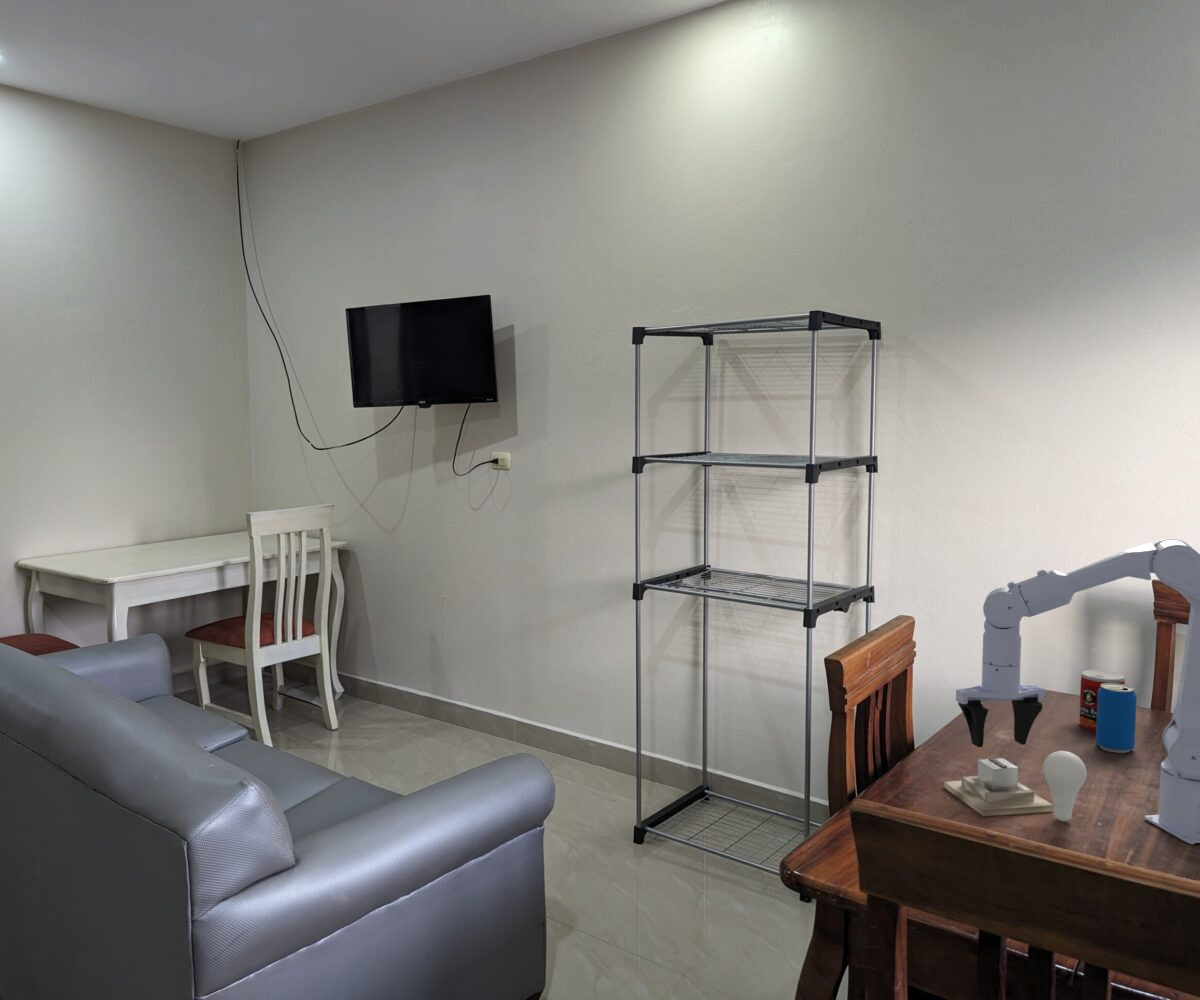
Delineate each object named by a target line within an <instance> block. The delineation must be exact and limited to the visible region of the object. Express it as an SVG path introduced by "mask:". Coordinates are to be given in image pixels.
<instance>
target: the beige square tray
mask: <svg viewBox="0 0 1200 1000" xmlns="http://www.w3.org/2000/svg"><path fill="white" fill-rule="evenodd" d="M943 783H944V784H943V785H944V786H943V787H944V788H945V789H946V790H947V791H949V792H950V793H951V794H953V796H955V797H957V798H958V799H959V800H961V802H964V803H965V804H966V805H967V806H969V807H970V808H972V809H973V810H974V811H975V812H977V813H978V814H980V815H981V816H983V817H988V816H1004V815H1019V814H1033V813H1034V814H1035V813H1047V812H1048V813H1049V812H1054V804H1053V803H1050V802H1049V801H1047V800H1046V799H1044V798H1043V797H1041V796H1040V795H1038V794H1037V793H1035V791H1034V790H1032V789H1030V788H1029V787H1027V786H1026V785H1024V784H1022V783H1021V782H1019V781H1018V787H1017V791H1003V792H990V791H988V790H987V789H985V788H984V787H982V786H981V785H979V784H978V775H972V776H971V775H968V776H961V780H952V781H951V780H950V781H944V782H943Z"/></svg>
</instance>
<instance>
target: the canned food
mask: <svg viewBox="0 0 1200 1000" xmlns="http://www.w3.org/2000/svg"><path fill="white" fill-rule="evenodd" d="M1125 677H1126V676H1124V674H1121V673H1118V672H1115V671H1110V670H1102V669H1088V670H1087V669H1086V670H1083V671H1082V672H1081V674H1080V694H1079V695H1080V696H1079V717H1078V718H1079V725H1080V727H1082V728H1083V727H1084V728H1083V729H1085V728H1087V729H1086V730H1088V729H1089V731H1091V730H1093V731H1092V732H1096V725H1097V701H1098V690H1099V689H1100V688H1101V684H1103V683H1118V684H1124V685H1126V684H1125V683H1126V679H1125Z"/></svg>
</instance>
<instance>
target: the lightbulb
mask: <svg viewBox="0 0 1200 1000" xmlns="http://www.w3.org/2000/svg"><path fill="white" fill-rule="evenodd" d="M1042 773H1043V776H1044V779H1045V781H1046V783H1047V784H1048V786H1049V790H1050V792H1051V802H1052V805H1053V816H1054V817H1055V818H1057V820H1059V821H1060V822H1067V821H1069V820H1071V819H1073V818H1072V817H1073V807H1074V806H1075V804H1076V802H1075V801H1076V797H1077V794H1078V792H1079V791H1080V790H1081V788H1082V787H1083V785H1084V784H1085V782H1086V779H1087V768H1086V764H1085V763H1084V762H1083V761H1082V759H1081V758H1080V757H1079V756H1078V755H1076V754H1075V753H1073V752H1070V751H1067V750H1057V751H1054V752H1052V753H1050V754H1049V755H1048V756H1047V757H1046V758H1045V759H1044V761H1043V764H1042Z"/></svg>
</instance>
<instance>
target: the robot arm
mask: <svg viewBox="0 0 1200 1000" xmlns="http://www.w3.org/2000/svg"><path fill="white" fill-rule="evenodd" d="M1151 574H1155V577H1156V578H1157V579H1158V580H1159V582H1162V583H1163V584H1164V585H1166V586H1168V587H1170V588H1171V589H1173V590H1175V591H1177V592H1179V593H1180V595H1181V596H1182V597H1183V598H1184V599H1185V600H1186V601H1187V602H1188V603H1189V604H1190V608H1189V609H1190V610H1189V617H1188V623H1187V631H1186V637H1185V644H1184V652H1183V660H1182V665H1181V672H1180V680H1179V686H1178V691H1177V692H1178V694H1177V700H1176V704H1175V707H1174V709H1173V710H1172V711H1173V712H1172V717H1171V721H1170V722H1169V724H1168V725H1166V727H1165V728H1164V729H1163V733H1162V735H1161V736H1162V737H1161V738H1162V744H1163V746H1164V749H1165V750H1166V753H1167V756H1166V758H1165V759H1164V760H1163V761H1161V763H1160V776H1159V777H1160V778H1159V779H1160V781H1159V782H1160V783H1159V802H1158V814H1151V815H1147V814H1146V815H1144V819H1145V820H1146V821H1147V822H1150V823H1151V824H1153V825H1154V826H1157V827H1158V828H1161V829H1162V830H1164V831H1166V832H1167V833H1169V834H1171V835H1172V836H1174V837H1175V838H1178V839H1180V840H1182V841H1183V842H1185V843H1186V842H1187V844H1188V843H1189V845H1196V844H1195V843H1200V553H1199V552H1198V551H1197V550H1195V549H1194V548H1193V547H1192V546H1191V545H1189V544H1188V543H1187V542H1185V541H1183V540H1181V539H1178V538H1174V537H1173V538H1165V539H1161V540H1158V541H1157V542H1155V543H1154V544H1153V543H1152V542H1149V543H1144V544H1141V545H1139V546H1135V547H1131V548H1129V549H1126V550H1123V551H1120V552H1117V553H1115V554H1113V555H1111V556H1109V557H1105V558H1103V559H1100V560H1098V561H1095V562H1093V563H1090V564H1088V565H1085V566H1083V567H1080V568H1077V569H1075V570H1073V571H1070V572H1067V573H1064V572H1060V571H1058V570H1054V569H1052V570H1049V571H1046V569H1044V568H1043V569H1040V570H1038V571H1037V572H1036V576H1033V577H1030V578H1028V579H1025V580H1024V579H1023V580H1021V581H1019V582H1016V583H1015V582H1014V581H1010V582H1008V583H1007V588H1006V587H998V588H995V589H993V590H991V591H990V592H989V593H988V595H986V598H985V600H984V603H983V607H982V608H983V609H982V610H983V611H982V612H983V615H984V617H985V621H984V623H983V629H984V632H983V634H982V637H983V638H982V658H981V659H982V662H981V663H982V666H981V669H982V670H981V684H980V685H976V686H970V687H966V688H956V689H955V701H956V702H957V703H958V707H960V710H961V712H962V714H963V716H964V718H965V721H966V723H967V727H968V731H969V734H970V739H971V744H972V745H974V746H975V747H976V748H983V745H984V741H985V740H984V736H985V724H986V720H987V719H986V718H987V716H988V713H989V709H988V708H986V707H984V706H983V704H984V702H1004V701H1006V702H1007V701H1011V704H1012V711H1013V720H1014V721H1013V722H1014V723H1013V724H1014V725H1013V737H1014V741H1015V742H1016V743H1018V744H1020V745H1022V746H1023V745H1026V744H1027V741H1028V737H1029V734H1030V731H1031V728H1032V726H1033V724H1034V722H1035V720H1036V718H1037V717H1038V716H1039V714H1040V713H1041V712H1042V710H1043V703H1042V702H1040V701H1045V693H1046V692H1045V687H1041V686H1039V685H1023V684H1021V658H1022V657H1021V653H1022V636H1021V634H1020V632H1021V631H1020V629H1021V628H1020V627H1021V625H1020V624H1021V621H1022V619H1023V617H1024V618H1025V617H1028V618H1031V617H1034V616H1038V615H1041V614H1043V613H1046V612H1048V611H1052V610H1055V609H1057V608H1058V609H1059V608H1061V607H1063V606H1067V605H1069V604H1070V603H1071V602H1072V600H1073V597H1074V595H1075V594H1076V593H1078V592H1081V591H1085V590H1089V589H1092V588H1095V587H1097V586H1101V585H1105V584H1107V583H1111V582H1115V581H1117V580H1120V579H1125V578H1128V577H1130V578H1135V579H1141V580H1145V581H1151V580H1152V576H1151ZM982 703H983V704H982Z"/></svg>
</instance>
